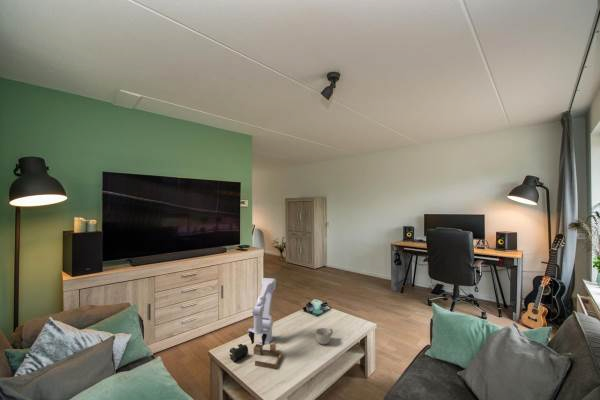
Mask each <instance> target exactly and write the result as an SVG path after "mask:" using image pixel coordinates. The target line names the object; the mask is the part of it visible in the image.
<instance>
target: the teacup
mask: <svg viewBox="0 0 600 400" xmlns="http://www.w3.org/2000/svg"><path fill="white" fill-rule="evenodd" d="M333 331H334V330H333V329H331V328H325V327H320V328H317V329H316V330H315V340H316V342H317V343H319V344H320V345H323V346H324V345H327V344H328V343H330V341H331V336H332V335H333Z"/></svg>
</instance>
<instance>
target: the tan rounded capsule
mask: <svg viewBox="0 0 600 400" xmlns="http://www.w3.org/2000/svg"><path fill="white" fill-rule="evenodd" d="M269 351H275V352H277V344H276V342H270V343H269Z"/></svg>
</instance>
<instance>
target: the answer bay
mask: <svg viewBox="0 0 600 400" xmlns="http://www.w3.org/2000/svg"><path fill="white" fill-rule="evenodd" d="M262 354H263V355H266V356H271V357H277V358H276V360H275V362H274V363H271V362H266V361H261V360H255V361H254V366H256V367H261V368H266V369H267V368H268V369H271V370H276V369H277V367H278V365H279V364H280V362H281V360H282V358H283V352H280V351H276V352H275V351H270V349H263V352H262Z"/></svg>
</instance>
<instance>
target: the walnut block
mask: <svg viewBox="0 0 600 400" xmlns="http://www.w3.org/2000/svg"><path fill="white" fill-rule="evenodd" d="M263 350H264V346H262V344H261V343H256V344H255V345H254V347H253V355H256V356H261V355H262V354H263Z"/></svg>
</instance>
